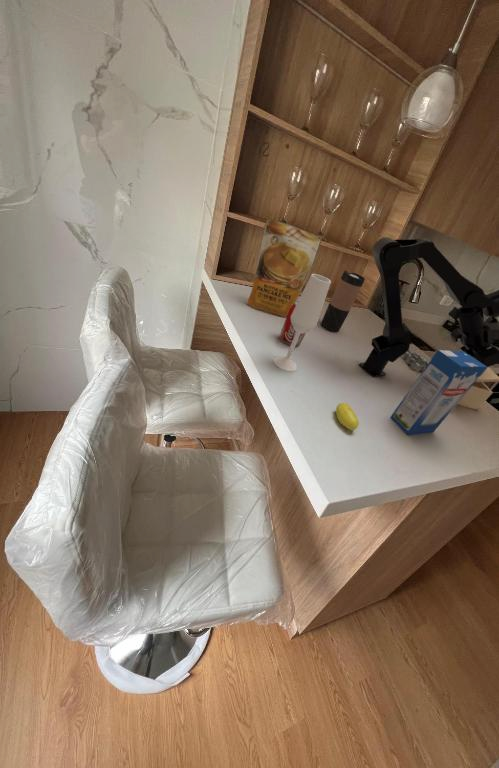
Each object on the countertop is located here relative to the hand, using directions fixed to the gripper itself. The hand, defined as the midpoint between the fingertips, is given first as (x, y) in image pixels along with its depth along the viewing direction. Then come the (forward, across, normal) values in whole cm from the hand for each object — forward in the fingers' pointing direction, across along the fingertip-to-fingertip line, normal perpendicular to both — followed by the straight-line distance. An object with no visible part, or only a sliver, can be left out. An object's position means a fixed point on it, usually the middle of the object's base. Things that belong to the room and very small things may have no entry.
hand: (480, 367), depth 99 cm
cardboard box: (+7, 0, +9) cm, 11 cm away
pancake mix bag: (-37, +24, +53) cm, 69 cm away
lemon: (-24, -30, +40) cm, 56 cm away
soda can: (-32, +3, +48) cm, 58 cm away
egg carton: (+1, +14, +15) cm, 21 cm away
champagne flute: (-33, -12, +49) cm, 61 cm away
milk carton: (-10, -24, +26) cm, 37 cm away
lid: (0, 0, +3) cm, 3 cm away
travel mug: (-20, +25, +36) cm, 48 cm away
